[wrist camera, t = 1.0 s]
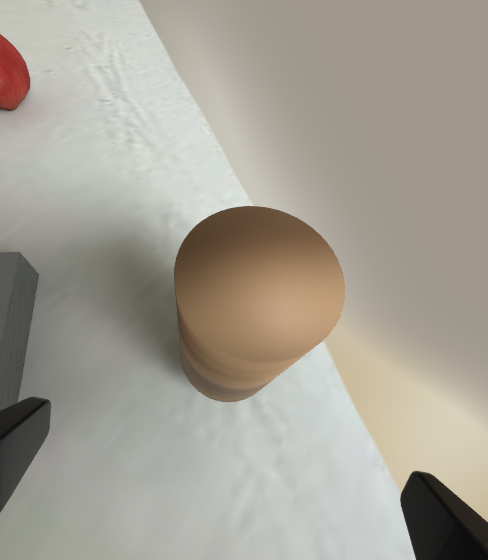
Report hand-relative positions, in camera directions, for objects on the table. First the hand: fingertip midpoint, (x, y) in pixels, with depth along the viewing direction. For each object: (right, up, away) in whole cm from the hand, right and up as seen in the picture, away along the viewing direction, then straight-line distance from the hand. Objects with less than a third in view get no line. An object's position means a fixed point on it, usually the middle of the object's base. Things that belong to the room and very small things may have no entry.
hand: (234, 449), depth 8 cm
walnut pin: (-1, -2, +15) cm, 15 cm away
